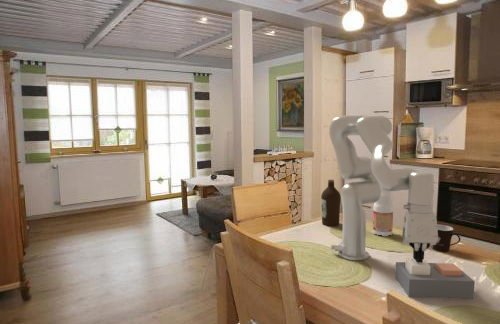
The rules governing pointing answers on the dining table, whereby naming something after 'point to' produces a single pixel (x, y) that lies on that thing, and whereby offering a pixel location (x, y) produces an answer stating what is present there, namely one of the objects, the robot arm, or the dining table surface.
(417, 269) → the cream key
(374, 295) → the dining table surface
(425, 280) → the grey button box
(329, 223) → the olive oil
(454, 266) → the terracotta key
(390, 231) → the fruit juice
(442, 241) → the coffee mug
